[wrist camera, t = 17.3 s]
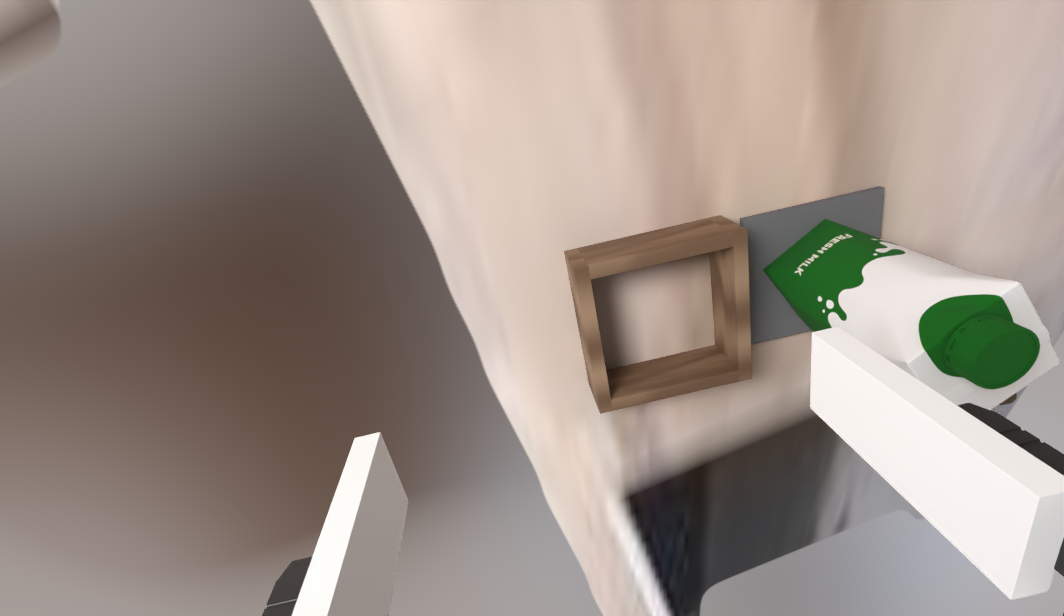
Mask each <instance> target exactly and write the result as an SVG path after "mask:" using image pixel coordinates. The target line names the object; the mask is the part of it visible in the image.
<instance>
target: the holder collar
mask: <svg viewBox="0 0 1064 616" xmlns="http://www.w3.org/2000/svg"><path fill="white" fill-rule="evenodd" d="M708 252H709V254H710V269H711V285H712V300H713V316H714V331H715V345H714V346H709V347H705V348H701V349H696V350H692V351H688V352H683V353H679V354H675V355H671V356H666V357H662V358H658V359H653V360H649V361H645V362H640V363H636V364H632V365H627V366H623V367H619V368H614V369H610V370H606V367H605V361H604V355H603V349H602V343H601V338H600V332H599V326H598V320H597V314H596V308H595V302H594V296H593V291H592V285H591V279H595V278H600V277H604V276H609V275H613V274H617V273H622V272H626V271H630V270H635V269H639V268H643V267H648V266H652V265H656V264H661V263H665V262H669V261H674V260H678V259H682V258H687V257H691V256H695V255H700V254H704V253H708ZM564 253H565V259H566V264H567V269H568V274H569V280H570V285H571V290H572V296H573V301H574V306H575V312H576V317H577V322H578V327H579V333H580V338H581V343H582V349H583V354H584V359H585V365H586V370H587V375H588V380H589V385H590V388H591V390H592V393H593V396H594V398H595V401H596V404H597V406H598V409H599V412H600V414H601V413H605V412H609V411H613V410H618V409H622V408H626V407H631V406H635V405H639V404H644V403H648V402H652V401H656V400H661V399H665V398H669V397H674V396H678V395H682V394H687V393H691V392H695V391H699V390H704V389H708V388H712V387H717V386H721V385H725V384H730V383H734V382H738V381H743V380H747V379H751V378H752V361H751V329H750V297H749V264H748V232H747V229H746V228H744V227H742V226H740V225H738V224H736V223H734V222H732V221H730V220H728V219H726V218H724V217H722V216H716V217H711V218H707V219H703V220H698V221H694V222H690V223H685V224H681V225H677V226H672V227H668V228H664V229H659V230H655V231H650V232H646V233H642V234H637V235H633V236H629V237H624V238H620V239H616V240H611V241H607V242H603V243H598V244H594V245H590V246H585V247H581V248H577V249H572V250H568V251H564Z"/></svg>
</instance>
